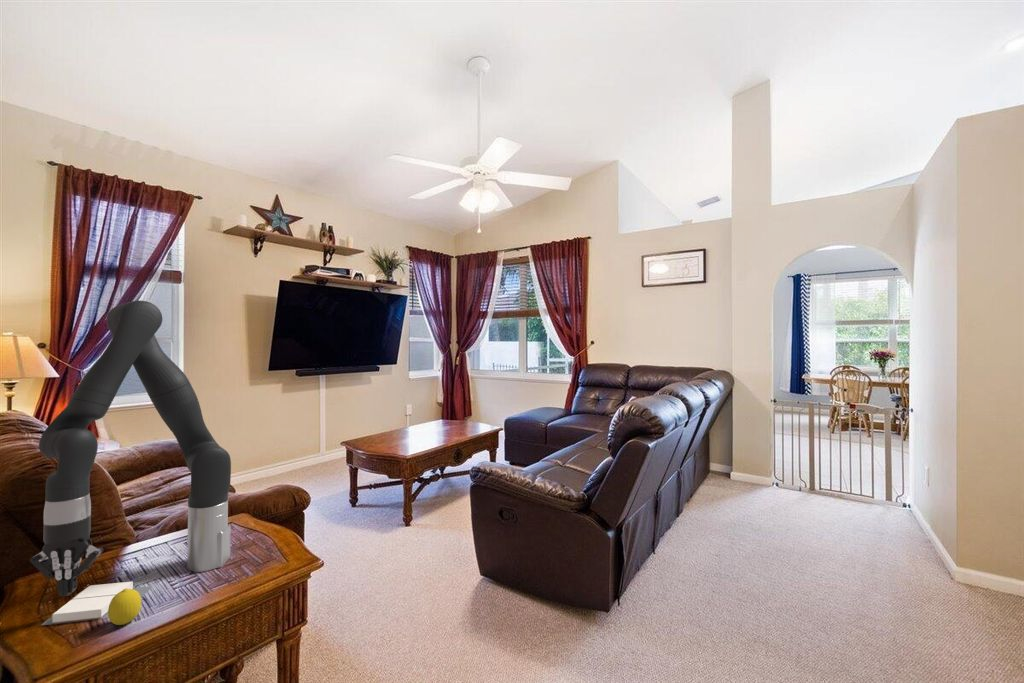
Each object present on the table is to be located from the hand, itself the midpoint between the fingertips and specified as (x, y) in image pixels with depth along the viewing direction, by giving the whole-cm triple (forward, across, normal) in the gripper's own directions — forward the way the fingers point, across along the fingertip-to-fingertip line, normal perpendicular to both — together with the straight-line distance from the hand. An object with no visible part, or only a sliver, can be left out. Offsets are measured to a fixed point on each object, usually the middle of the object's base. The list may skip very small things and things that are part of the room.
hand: (67, 593), depth 100 cm
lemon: (+6, -14, +6) cm, 16 cm away
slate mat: (+6, -4, -4) cm, 8 cm away
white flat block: (+4, +1, -6) cm, 7 cm away
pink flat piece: (+4, +1, 0) cm, 4 cm away
